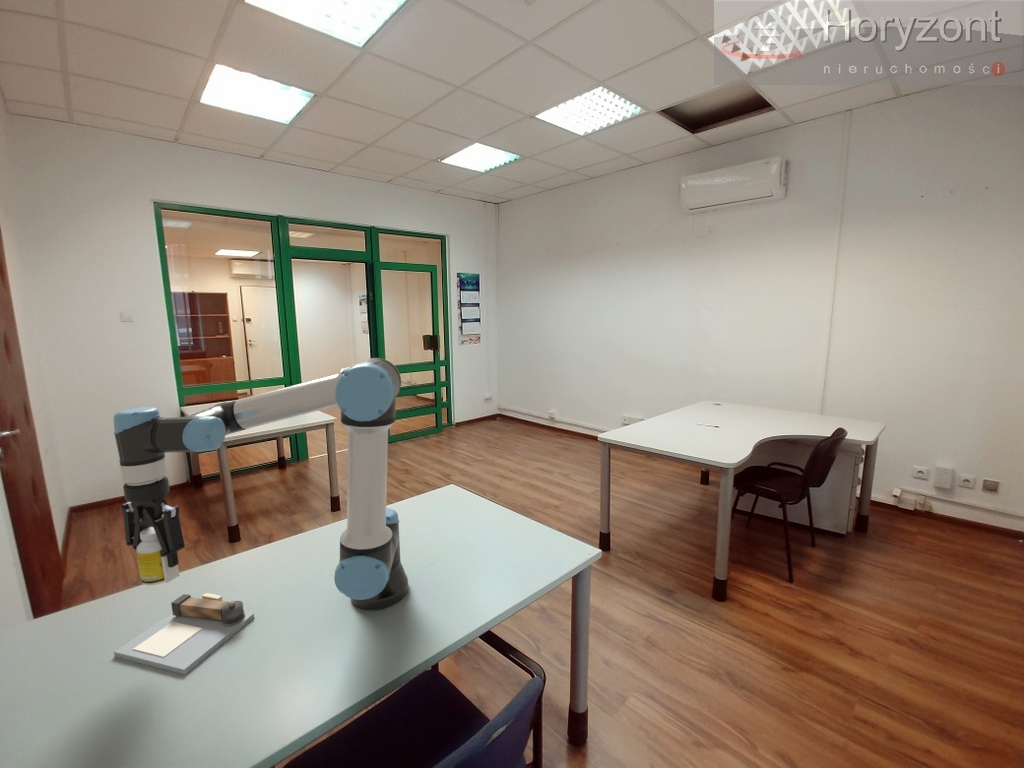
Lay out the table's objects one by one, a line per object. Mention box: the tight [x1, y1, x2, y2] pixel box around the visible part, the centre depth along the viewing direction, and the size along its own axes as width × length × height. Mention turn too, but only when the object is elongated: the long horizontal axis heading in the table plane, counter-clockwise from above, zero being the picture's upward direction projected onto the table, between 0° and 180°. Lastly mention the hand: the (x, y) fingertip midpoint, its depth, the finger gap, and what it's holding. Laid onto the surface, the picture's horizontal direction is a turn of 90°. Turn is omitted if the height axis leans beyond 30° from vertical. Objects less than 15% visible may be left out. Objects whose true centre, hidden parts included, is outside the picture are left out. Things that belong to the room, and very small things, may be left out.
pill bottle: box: [136, 527, 165, 586], centre depth 98 cm, size 6×6×12 cm
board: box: [113, 592, 255, 675], centre depth 103 cm, size 20×18×4 cm
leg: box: [171, 593, 245, 624], centre depth 108 cm, size 18×4×4 cm, turn 80°
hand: (159, 576), depth 99 cm, fingers closed on pill bottle, 6 cm apart
